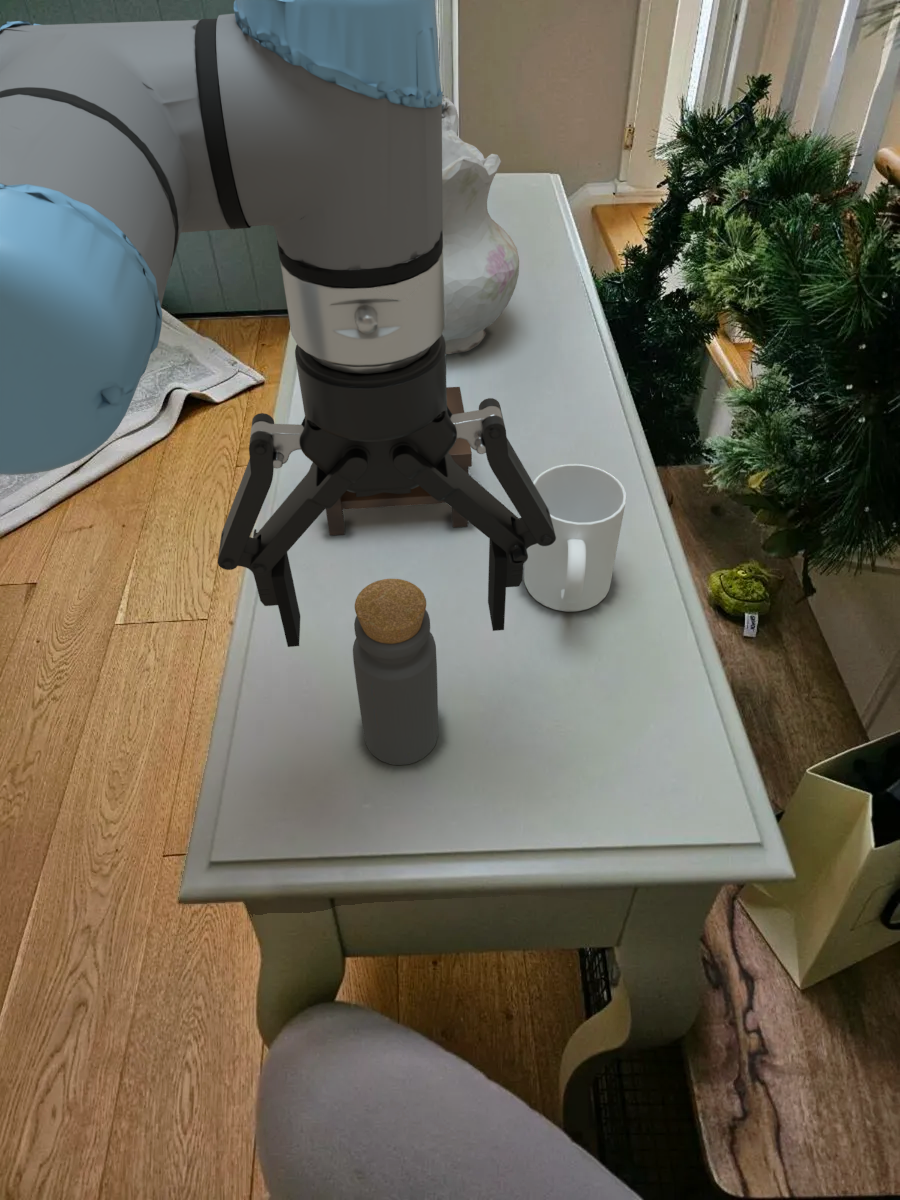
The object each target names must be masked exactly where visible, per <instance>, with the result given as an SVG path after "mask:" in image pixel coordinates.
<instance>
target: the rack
mask: <svg viewBox="0 0 900 1200" xmlns="http://www.w3.org/2000/svg"><path fill="white" fill-rule="evenodd" d="M446 388H447V406H448V408H449V410H450V411H451V413H452V414H458V413H464V412H465V408H464V402H463V397H462V392H461V386H446ZM448 453H449V454H450V455H451V457H452V459H453V460H454V462H455V463H456V464H457V465H458V466H460V467H461V468H462V469H463V470H464V471H465V472H466V473H468V474H469V468H472V466H473V464H472V463H473V452H472V448H471V446H470V444H469V442H468V441H467V440H465V439H461V438H459V439H456V442H455V444H454V445H453V447H452V448H451V449H450V450H449V452H448ZM439 504H440V505H441V504H447V503H446V502H445V501H443V500H441V501H438V500H436V499H435V498H434V497H432V496H431V495H430V494H429V493H427V492H426V491H425V490H424V489H423V488H421V487H420V486H417V487H416V488H413V489H411V493H407V494H393V493H386V492H382V493H379V494H375V495H372V496H364V497H356V493H353V492H349V491H346V492H345V493H344V494H343V495H342V496H341V497H340V498H339V500H338V501H337V502H336V503H335V504H334V505H333V506H332V507H331V508H330V509H327V508H326V509H325V514H326V521H327V527H328V535H329V536H343V535H345V534H346V525H345V524H346V523H345V522H346V521H345V515H344V510H361V509H376V508H377V509H378V508H392V507H407V506H408V507H409V506H424V505H439ZM450 514H451V516H450V518H451V526H452V528H466V527H468V526H469V521H468V520H466V519H465V518H464V517H463V516H462V515H460V514H459V513H458V512H457V511H456V510H454V509H453V508H452V507H451V506H450Z"/></svg>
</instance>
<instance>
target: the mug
mask: <svg viewBox="0 0 900 1200" xmlns="http://www.w3.org/2000/svg"><path fill="white" fill-rule="evenodd" d="M532 482H533V483H534V485H535V487H536V489H537V490H538V492H539V494H540V495H541V497H542V499H543V501H544V502H545V504H546V506H547V507H548V509H549V513H550V516H551V520H552V524H553V527H554V531H555V536H556V540H555V542H554V543H553V544H551V545H549V546H541V545H539V544H538V543H537V544H534V545H532V546H530V547H528V548H527V554H528V559H527V561H526V562H524V566H523V580H524V581H523V583H524V585H525V587H526V589H527V591H528V593H529V594H530V596H532V598H533V599H534V600H535V601H536V602H538V603H540V604H541V605H543V606H545V607H547V608H550V609H552V610H555V611H560V612H581V611H585V610H589V609H591V608H593V607H595V606H597V605H598V604H599V603H600V602H602V601H603V600H604V599H605V598H606V596H607V595H608V594H609V591H610V589H611V583H612V578H613V573H614V567H615V561H616V558H617V557H616V555H617V552H618V551H617V550H618V546H619V542H620V541H619V540H620V535H621V530H622V524H623V519H624V513H625V508H626V502H627V493H626V489H625V487H624V485H623V484H622V482H621V481H620V480H619V479H618V478H617V477H615V476H614V475H613V474H612V473H610V472H609V471H606V470H604V469H603V468H599V467H596V466H593V465H589V464H583V463H565V464H561V465H555V466H552V467H550V468H548V469H545V470H543V472H541V473H539V474H538V475H537V476H536V478H535V479H534V480H533V481H532Z"/></svg>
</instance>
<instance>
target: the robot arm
mask: <svg viewBox="0 0 900 1200" xmlns="http://www.w3.org/2000/svg"><path fill="white" fill-rule="evenodd" d="M437 25H438V24H437V10H436V0H234V1H233V13H226V14H218V16H217V18H201V19H184V20H183V19H182V20H155V21H154V20H153V21H151V20H150V21H125V22H124V21H123V22H120V21H119V22H94V23H93V22H91V23H90V22H89V23H88V22H87V23H61V24H60V23H59V24H57V23H56V24H39V23H31V22H30V21H28V20H17V21H6V23H3V24H1V26H0V475H8V476H17V475H32V474H38V473H44V472H50V471H52V470H57V469H60V468H63V467H65V466H69V465H70V464H73V463H76V462H78V461H81V460H82V459H84V458H85V457H87V456H88V455H90V454H92V453H94V452H95V451H96V450H98V449H99V448H100V447H101V446H102V445H103V444H105V443H106V442H107V441H108V440H109V439H110V438H111V437H112V435H113V434H114V433H116V431H117V429H118V428H119V427H120V425H121V423H122V421H123V420H124V418H125V416H126V415H127V412H128V410H129V409H130V408H129V407H130V406H131V404H132V401H133V398H134V396H135V393H136V391H137V388H138V385H139V383H140V380H141V378H142V376H143V375H144V374H145V372H146V370H147V367H148V364H149V361H150V358H151V354H152V353H153V352H154V351H156V350H157V348H158V346H159V341H160V338H161V332H162V325H163V311H162V304H163V301H164V297H165V292H166V289H167V284H168V279H169V276H170V272H171V268H172V265H173V261H174V258H175V255H176V251H177V248H178V244H179V240H180V237H181V234H182V233H195V232H197V233H198V232H208V231H209V232H210V231H225V230H238V229H239V230H240V229H241V230H242V229H251V227H259V226H271V227H273V228H274V234H275V237H276V242H277V243H276V244H277V245H276V246H277V251H278V257H279V262H280V263H279V264H280V268H281V274H282V275H281V276H282V283H283V287H284V294H285V300H286V307H287V314H288V319H289V320H288V321H289V326H290V333H291V337H292V338H293V340H294V342H295V343H296V345H295V350H294V358H295V363H296V369H297V376H298V381H299V387H300V393H301V401H302V405H303V413H304V418H303V420H302V422H301V424H295V423H294V424H289V423H275V420H274V418H273V416H271V415H270V414H268V413H264V412H261V413H257V414H255V415H254V416H253V417H252V420H251V428H250V435H249V436H250V437H249V443H248V444H249V445H248V453H249V454H248V455H249V459H248V461H247V465H246V467H245V470H244V473H243V476H242V478H241V480H240V483H239V486H238V489H237V491H236V494H235V496H234V499H233V502H232V504H231V507H230V509H229V512H228V515H227V517H226V520H225V522H224V525H223V527H222V530H221V535H220V541H219V548H218V556H217V565H218V567H220V569H222V570H226V571H232V570H235V569H237V567H243V568H246V569H248V570H249V571H251V572H252V574H253V577H254V582H255V586H256V589H257V593H258V597H259V601H260V602H261V603H262V605H263V606H264V607H273V606H277V608H278V611H279V612H278V613H279V615H280V619H281V625H282V628H283V632H284V637H285V642H286V645H287V647H288V648H291V647H292V648H293V647H300V640H301V639H300V637H301V612H300V607H299V602H298V598H297V593H296V588H295V583H294V579H293V573H292V569H291V564H290V559H289V555H288V552H289V550H291V548H292V547H293V546H294V545H295V544H296V543H297V542H298V540H299V539H300V538H301V537H302V536H303V535H304V533H305V532H306V531H307V530H308V529H309V528H310V527H311V526H312V524H313V523H314V522H315V521H316V520H317V519H318V517H320V516H321V514H322V513H323V512H324V511H326V508H327V509H330V508H331V507H332V506H333V505H334V504H335V503H336V502H337V501H338V500H339V498H340V497H341V496H342V495H343V494H344V493H345V492H346V491H349V492H353V493H356V497H364V496H372V495H375V494H379V493H382V492H386V493H393V494H407V493H411V489H413V488H416V487H417V486H420V487H421V488H423V489H424V490H425V491H426V492H427V493H429V494H430V495H431V496H432V497H434V498H435V499H436V500H438V501H441V500H443V501H445V502H446V503H445V504H447V505H448V506H449V507H450V508H451V507H452V508H453V509H454V510H456V511H457V512H458V513H459V514H460V515H462V516H463V517H464V518H465V519H466V520H468V523H470V524H471V525H472V526H473V527H475V528H476V529H477V530H479V531H480V532H481V533H482V534H483V535H484V536H486V538H488V539H489V540H488V541H489V544H488V546H489V547H488V579H487V580H488V582H487V584H488V585H487V586H488V587H487V604H488V611H489V616H490V623H491V629H492V632H496V631H504V630H505V617H506V616H505V615H506V597H507V588H517V587H520V586H521V584H522V582H523V580H524V565H525V562H526V561H527V559H528V554H527V548H528V547H530V546H532V545H534V544H537V543H538V544H539V545H541V546H549V545H551V544H553V543H554V542H555V540H556V536H555V531H554V527H553V524H552V520H551V516H550V513H549V509H548V507H547V506H546V504H545V502H544V501H543V499H542V497H541V495H540V494H539V492H538V490H537V489H536V487H535V485H534V483H533V482H534V481H533V479H532V478H531V476H530V474H529V473H528V471H527V469H526V468H525V466H524V464H523V463H522V461H521V459H520V458H519V456H518V454H517V453H516V451H515V449H514V447H513V445H512V444H511V442H510V441H509V439H508V436H507V429H506V425H505V421H504V417H503V412H502V408H501V404H500V401H499V400H497V399H496V398H493V397H488V398H485V399H483V400H482V401H481V402H480V403H479V405H478V410H477V409H476V410H472V411H464V413H458V414H452V413H451V411H450V410H449V408H448V406H447V388H446V387H447V354H446V345H445V339H444V337H443V335H442V332H443V330H444V328H445V303H444V264H443V211H442V101H443V99H442V97H443V95H444V91H442V86H441V83H442V82H441V71H440V56H439V41H438V26H437ZM459 438H461V439H465V440H467V441H468V442H469V444H470V446H471V450H474V451H476V453H477V454H478V455H484V454H485V455H486V459H487V462H488V465H489V467H490V469H491V472H493V474H494V476H495V478H496V479H497V481H498V482H499V483H500V485H501V487H502V489H503V491H504V492H505V494H506V495H507V497H508V498H509V500H510V502H511V504H512V505H513V507H514V508H515V510H516V511H517V513H518V515H519V517H518V516H517V515H516V514H515V513H514V512H512V510H510V509H509V508H508V507H506V505H504V504H503V503H502V502H501V501H500V500H499V499H497V498H496V497H495V495H493V494H492V493H490V491H488V490H487V489H486V488H485V487H484V486H482V485H481V484H480V483H479V482H478V481H477V480H476V479H474V478H473V477H472V476H471V475H470V474H469V472H468V473H466V472H465V471H464V470H463V469H462V468H461V467H460V466H458V465H457V464H456V463H455V462H454V460H453V459H452V457H451V455H450V454H449V453H448V452H449V450H450V449H451V448H452V447H453V445H454V444H455V442H456V439H459ZM300 450H301V452H302V453H303V456H305V457H307V459H309V461H311V462H312V463H311V465H310V468H309V470H308V472H307V473H306V474H305V476H304V477H302V479H301V481H300V482H299V483H298V484H297V485H296V487H295V488H293V490H292V491H291V492H290V494H289V495H287V497H286V498H285V500H283V502H282V503H281V504H280V505H279V507H278V508H277V509H276V510H275V512H274V513H273V514H272V515H271V516H270V518H269V519H267V521H266V522H265V523H264V525H262V527H261V528H260V529H259V531H258V532H257V529H255V528H254V527H255V525H256V523H257V520H258V517H259V515H260V513H261V510H262V507H263V505H264V503H265V500H266V498H267V496H268V493H269V491H270V489H271V485H272V483H273V477H274V469H281V468H282V467H283V466H284V465H285V464H286V463H287V462H288V461H289V458H290V455H291V454H292V453H293V452H294V451H300ZM252 532H253V535H252ZM251 535H252V537H251Z"/></svg>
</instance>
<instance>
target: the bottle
mask: <svg viewBox="0 0 900 1200" xmlns="http://www.w3.org/2000/svg"><path fill="white" fill-rule="evenodd" d="M426 599H427V598H426V596H425V594H424V592H423V591H422V589H421V588H420V587H419V586H417V585H416V584H415V583H413V582H410V581H408V580H406V579H401V578H384V579H380V580H376V581H374V582H371V583H370V584H368V585H366V586H365V587H363V588H362V589H361V591H360V592H359V593H358V595H357V596H356V598H355V602H354V612H355V615H356V616H355V619H354V623H353V624H354V635H355V639H354V642H353V645H352V661H353V667H354V668H353V669H354V676H355V682H356V692H357V698H358V705H359V711H360V720H361V727H362V731H363V738H364V741H365V744H366V747H367V749H368V751H369V752H370V753H371V754H372V756H373V757H374V758H376V759H378V760H379V761H381V762H383V763H386V764H390V765H393V766H394V765H395V766H405V765H411V764H413V763H416V762H419V761H422V760H423V759H424V758H425V757H427V756H428V755H429V754H430V753H431V752H432V751H433V750H434V748H435V746H436V744H437V741H438V737H439V698H438V697H439V695H438V693H439V692H438V662H437V661H438V659H437V645H436V641H435V638H434V636H433V635H434V634H432V632H431V618H430V615H429V612H428V611H427V609H426V608H427V600H426Z"/></svg>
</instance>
